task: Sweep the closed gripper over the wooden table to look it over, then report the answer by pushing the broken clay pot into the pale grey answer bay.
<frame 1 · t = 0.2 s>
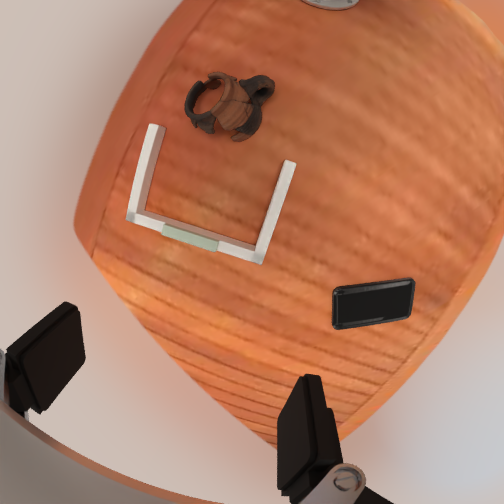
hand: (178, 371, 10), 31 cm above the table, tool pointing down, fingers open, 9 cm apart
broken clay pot: (235, 108, 35), on the table
answer bay: (208, 189, 38), on the table
phone: (373, 301, 42), on the table
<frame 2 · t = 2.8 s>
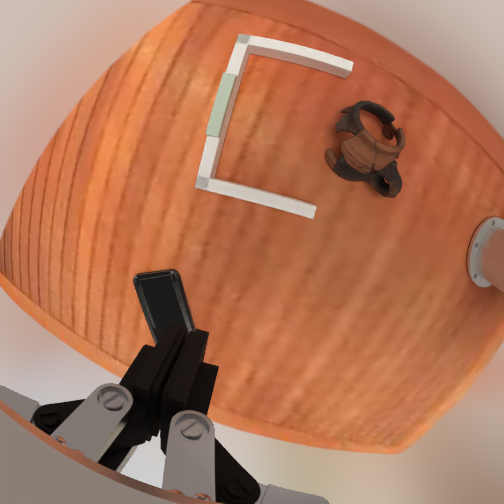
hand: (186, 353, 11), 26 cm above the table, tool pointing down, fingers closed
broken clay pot: (361, 153, 32), on the table
answer bay: (276, 121, 31), on the table
phone: (169, 314, 41), on the table
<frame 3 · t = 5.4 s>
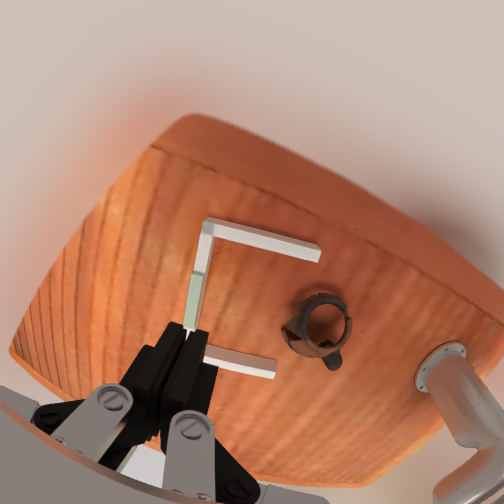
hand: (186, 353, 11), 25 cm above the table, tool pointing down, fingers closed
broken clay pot: (315, 322, 38), on the table
answer bay: (244, 301, 38), on the table
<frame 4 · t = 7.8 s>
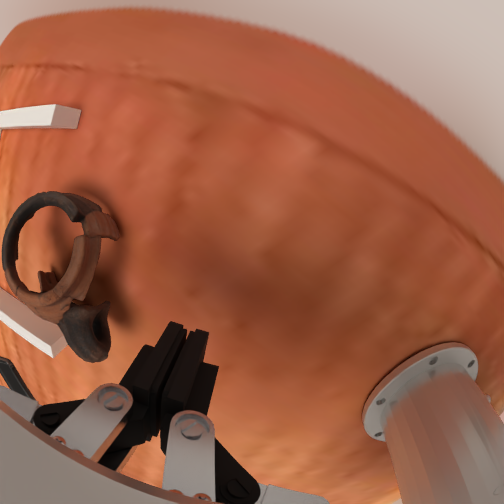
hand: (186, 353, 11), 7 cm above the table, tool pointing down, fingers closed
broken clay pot: (90, 265, 19), on the table
answer bay: (17, 223, 18), on the table
phone: (25, 392, 28), on the table
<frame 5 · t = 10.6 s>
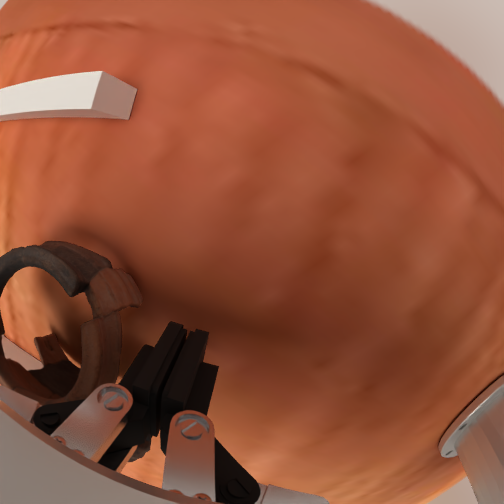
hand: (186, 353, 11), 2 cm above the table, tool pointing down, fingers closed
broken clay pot: (102, 329, 14), on the table, touching gripper
answer bay: (24, 262, 13), on the table
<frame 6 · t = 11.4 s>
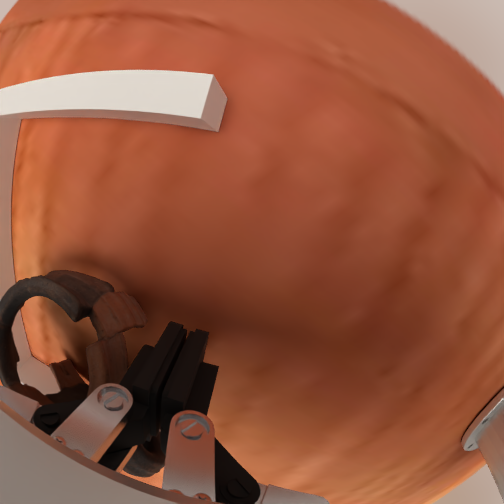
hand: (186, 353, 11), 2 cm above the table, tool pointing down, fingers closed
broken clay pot: (114, 351, 14), on the table, touching gripper
answer bay: (67, 281, 13), on the table
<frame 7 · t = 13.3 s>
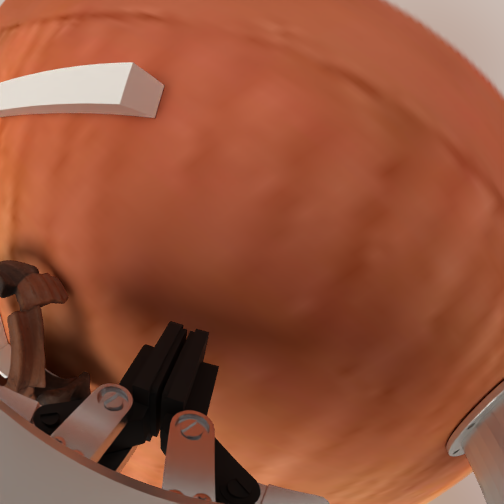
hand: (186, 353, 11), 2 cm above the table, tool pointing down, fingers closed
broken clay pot: (58, 333, 14), on the table
answer bay: (31, 268, 12), on the table
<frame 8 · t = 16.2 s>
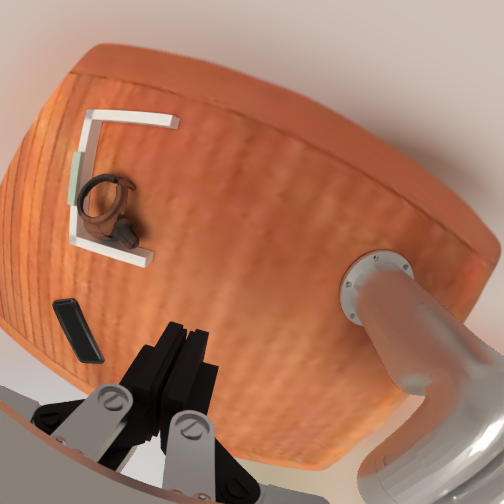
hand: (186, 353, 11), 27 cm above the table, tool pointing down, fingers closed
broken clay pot: (122, 212, 37), on the table
answer bay: (120, 183, 36), on the table
phone: (79, 330, 45), on the table
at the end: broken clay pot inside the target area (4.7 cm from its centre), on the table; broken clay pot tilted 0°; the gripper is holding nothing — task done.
